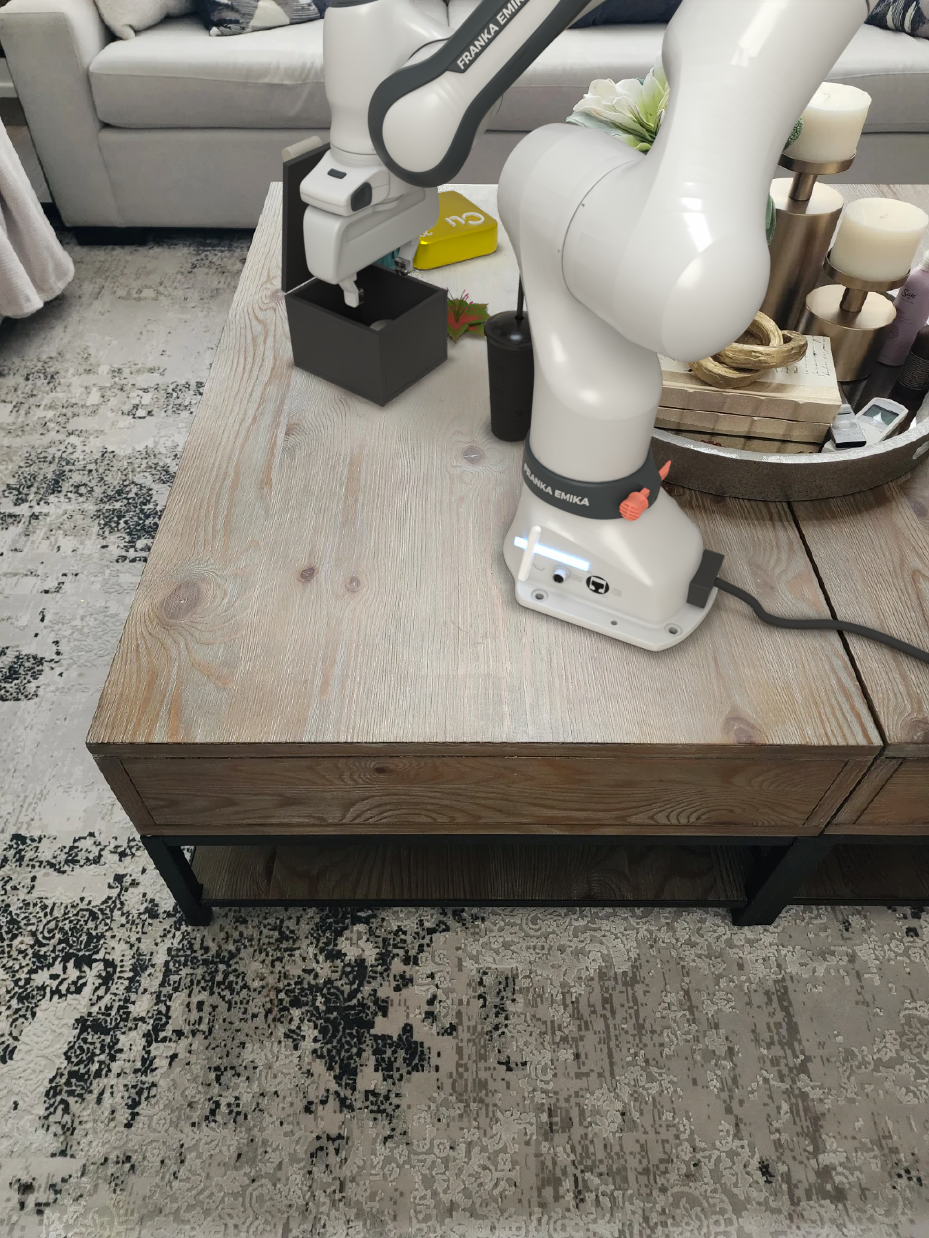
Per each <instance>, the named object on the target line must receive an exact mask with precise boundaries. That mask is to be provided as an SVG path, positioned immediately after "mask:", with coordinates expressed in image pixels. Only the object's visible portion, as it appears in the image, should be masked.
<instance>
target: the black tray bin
mask: <svg viewBox="0 0 929 1238" xmlns="http://www.w3.org/2000/svg"><path fill="white" fill-rule="evenodd" d="M356 275H357V279H356V280H355V281H353V282H354V284H355V285H356V287H357V288H361V289H363V292H364V295H363V298H364V302H363V303H361V304H360V305H358V306H356V307H352V306H350V305H347V304H346V302H345V297H344V290H343V289H342V288H341V286H340V285H339V283H338V284H331V283H328V282H325V281H323V280H321V279H318V278H314V279H313V280H311V281H309V282H305V283H303V284H301V285H300V286H298V287H296V288H294V289H293V290H291V291H289V292H287V293H285V294H284V295H283V296H284V297H283V298H284V303H285V311H286V318H287V324H288V325H287V326H288V331H289V339H290V345H291V351H292V358H293V366H295V367H297V368H299V369H301V370H304V371H305V372H308V373H310V374H311V375H314V376H315V377H318V378H321V379H323V380H325V381H327V382H329V383H331V384H333V385H335V386H337V387H339V388H342V389H344V390H346V391H348V392H351V393H353V394H355V395H357V396H359V397H361V398H363V399H366V400H367V401H370V402H372V403H374V404H376V405H379V406H380V407H384V406H386V405H388V403H390V402H392V400H394V399H396V397H398V396H400V395H401V394H402V393H404V392H405V391H406V390H408V389H409V388H411V387H412V386H413V385H415V384H417V382H419V381H420V380H421V379H423V378H424V377H425V376H427V375H428V374H429V373H431V372H432V371H434V370H435V369H436V368H438V367H439V366H441V365H442V364H443V363H445V362H446V361H447V360H448V339H449V337H448V335H449V333H448V298H449V291H448V290H447V289H446V288H443V287H441V286H438V285H435V284H433V283H430V282H427V281H425V280H422V279H420V278H418V277H414V276H412V275H409V274H407V275H406V276H402V275H398V274H397V273H396V272H395V269H391V268H389V267H386V266H384V265H381V264H378V263H376V262H373V263H371V264H370V265H368V266H366V267H365V268H363V269H361V270H360V271H358V272H356ZM384 319H392V320H394V321H392V322H391V323H389V324H388V325H386V326H384V327H383V328H381V329H380V330H378V331H377V330H375V329H372V328H370V326H371V325H372V324H373V323H374V322H376V321H379V320H384Z"/></svg>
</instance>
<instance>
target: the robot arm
mask: <svg viewBox="0 0 929 1238" xmlns="http://www.w3.org/2000/svg"><path fill="white" fill-rule="evenodd" d="M605 1H606V0H481V1H480V3H479V4H478V5H477V6H476V7H475V9H474V10H473V11H472V12H470V14H469V16H468V17H467V18H465V20H464V21H463V22H462V24H461V25H460V26H459V27H458V28H457V29H456V28H454V27H452V26H448V25H446V24H445V23H443V22H440V21H439V20H436V19H435V18H433V17H431V16H430V15H429V14H427V13H426V12H424V11H422V10H421V9H420V8H418V7H417V6H416V5H415V4H414V3H413V2H412V1H411V0H332V2H330V3H329V5H328V6H327V8H326V9H325V12H324V17H323V27H322V28H323V29H322V61H323V62H322V63H323V78H324V90H325V91H324V92H325V96H326V100H327V103H328V106H329V109H330V116H331V122H330V123H331V124H330V129H329V142H330V147H331V149H330V150H328V151H327V152H326V154H325V155H324V157H323V158H322V159H321V161H320V162H319V163H318V164H317V166H316V167H315V168H314V169H313V170H312V171H311V172H310V173H309V174H308V175H307V176H306V177H305V178H304V180H303V181H302V182H301V184H300V195H301V199H302V200H303V201H304V202H306V203H308V204H310V205H309V206H308V207H307V209H306V211H305V215H304V221H303V230H304V243H305V253H306V260H307V265H308V269H309V271H310V272H311V273H312V274H313V275H314V276H315V277H316V278H318V279H321V280H323V281H325V282H328V283H331V284H338V283H339V285H340V286H341V288H342V289H343V290H344V297H345V302H346V304H347V305H350V306H352V307H356V306H358V305H360V304H361V303H363V302H364V298H363V295H364V292H363V289H361V288H357V287H356V285H355V284H354V282H353V281H355V280H356V279H357V275H356V272H358V271H360V270H361V269H363V268H365V267H366V266H368V265H370V264H371V263H373V262H375V261H377V260H378V259H380V258H382V257H383V256H385V255H387V254H388V253H390V252H392V251H394V250H395V249H397V248H399V247H400V250H399V255H398V257H397V258H396V259H394V264H395V269H394V270H395V272H396V273H397V274H398V275H402V276H406V275H409V274H412V272H413V271H414V267H413V258H414V255H415V252H416V250H417V247H418V244H419V235H421V234H422V233H424V232H426V231H427V230H429V229H431V228H433V227H434V226H435V225H436V223H437V220H438V217H439V196H438V193H439V188H438V187H440V186H443V185H445V184H447V183H449V182H450V181H452V180H453V179H454V178H455V177H457V175H458V174H459V173H460V172H461V170H462V168H463V167H464V165H465V163H466V161H467V160H468V158H469V156H470V153H471V152H472V151H473V149H474V147H475V146H476V145H477V144H478V142H479V141H480V139H481V138H482V136H483V135H484V134H485V132H486V131H487V130H488V128H489V127H490V125H491V124H492V122H493V121H494V119H495V118H496V116H497V114H498V113H499V111H500V109H501V106H502V103H503V100H504V94H505V93H506V92H507V91H508V90H509V89H510V88H511V87H512V85H513V84H515V82H516V81H517V80H518V79H519V78H520V77H521V76H522V75H523V73H525V72H526V71H527V70H528V69H529V67H530V66H531V65H532V64H533V63H534V62H535V61H536V60H537V59H538V58H539V57H540V56H541V55H542V54H543V53H544V52H545V50H546V49H547V48H549V46H550V45H551V44H552V43H553V42H554V41H555V40H556V39H557V38H558V37H559V36H560V35H561V34H563V33H564V32H565V31H566V30H568V29H569V28H570V27H571V26H572V25H573V24H575V23H576V22H578V20H580V19H581V18H583V17H584V16H585V15H587V14H588V13H590V12H591V11H592V10H594V9H595V8H596V7H598V6H600V5H601V4H602V3H603V2H605ZM879 1H880V0H681V3H680V4H679V6H678V7H677V9H676V11H675V12H674V14H673V15H672V17H671V19H670V20H669V22H668V24H667V26H666V29H665V31H664V35H663V38H662V44H661V63H662V69H663V72H664V76H665V80H666V82H667V85H668V87H669V88H668V89H669V91H668V98H667V104H666V106H665V111H664V115H663V118H662V121H661V125H660V127H659V129H658V131H657V134H656V136H655V138H654V141H653V143H652V145H651V146H650V148H649V150H648V151H647V153H646V154H645V153H644V152H642V151H640V150H638V149H636V148H635V147H632V146H631V145H630V144H628V143H626V142H624V141H623V140H621V139H619V138H617V137H616V136H614V135H612V134H611V133H609V132H607V131H604V130H601V129H597V128H592V127H588V126H582V125H577V124H570V123H563V122H553V123H548V124H544V125H542V126H539V127H537V128H535V129H533V130H532V131H530V132H529V133H528V134H526V135H525V136H524V137H523V138H522V139H521V140H520V141H519V142H518V143H517V144H516V146H515V147H514V148H513V150H512V151H511V152H510V154H509V156H508V157H507V159H506V161H505V163H504V165H503V167H502V170H501V173H500V176H499V179H498V184H497V189H496V206H497V207H496V209H497V213H498V216H499V219H500V222H501V224H502V226H503V229H504V231H505V233H506V235H507V238H508V240H509V242H510V245H511V247H512V250H513V253H514V256H515V260H516V263H517V267H518V271H519V273H520V276H521V281H522V287H523V292H524V303H525V309H526V311H527V314H528V320H529V325H530V332H531V338H532V346H533V354H534V390H533V404H532V417H531V428H530V429H529V431H528V432H527V435H526V438H525V439H524V445H523V453H522V462H521V475H522V479H523V483H522V488H521V493H520V497H519V501H518V505H517V509H516V512H515V514H514V518H513V520H512V522H511V525H510V527H509V529H508V531H507V532H506V535H505V537H504V540H503V547H502V553H503V559H504V561H505V564H506V566H507V568H508V570H509V572H510V574H511V575H512V577H513V580H514V597H515V600H516V602H517V603H518V605H520V606H522V607H525V608H527V609H530V610H533V611H536V612H539V613H542V614H545V615H548V616H550V617H552V618H556V619H558V620H562V621H564V622H568V623H570V624H573V625H576V626H578V627H582V628H584V629H587V630H590V631H593V632H595V633H599V634H601V635H604V636H607V637H610V638H613V639H616V640H619V641H621V642H623V643H627V644H630V645H633V646H635V647H637V648H642V649H643V650H647V651H651V652H660V651H664V650H668V649H670V648H671V647H674V646H676V645H678V644H680V643H681V642H682V641H684V640H685V639H687V638H688V637H689V636H690V635H691V634H692V633H694V631H695V630H696V629H697V628H698V627H699V626H700V625H701V623H703V621H704V620H705V618H706V617H707V616H708V614H709V612H710V611H711V609H712V606H713V605H714V603H715V601H716V597H717V595H718V590H721V591H723V592H725V593H727V594H729V595H731V596H733V597H735V598H737V599H739V600H740V601H742V602H744V603H745V604H746V605H748V606H749V607H750V608H751V609H752V611H753V613H754V614H755V615H756V617H757V618H758V619H759V620H760V621H761V622H763V623H766V624H768V625H770V626H773V627H777V628H782V629H787V630H789V629H790V630H834V631H836V630H837V631H842V632H845V633H846V632H847V633H850V634H855V635H858V636H860V637H863V638H867V639H870V640H872V641H876V642H878V643H880V644H883V645H885V646H888V647H890V648H892V649H894V650H897V651H899V652H901V653H903V654H906V655H908V656H909V657H912V658H914V659H915V660H918V661H921V662H923V663H924V664H925V663H926V664H927V665H929V652H927V651H925V650H923V649H921V648H918V647H916V646H913V645H912V644H910V643H908V642H905V641H903V640H901V639H899V638H896V637H894V636H891V635H889V634H887V633H884V632H881V631H880V630H877V629H875V628H874V629H873V628H870V627H867V626H865V625H861V624H857V623H855V622H854V623H853V622H849V621H845V620H839V619H826V618H824V619H823V618H816V619H815V618H814V619H811V618H810V619H809V618H808V619H792V618H791V619H790V618H784V617H780V616H776V615H773V614H771V613H769V612H768V611H766V610H765V608H764V607H763V605H762V603H760V601H759V600H758V599H757V598H756V597H754V596H753V595H752V594H751V593H749V592H747V591H746V590H745V589H743V588H741V587H739V586H736V585H735V584H732V583H730V582H728V581H726V580H724V579H722V578H720V571H721V568H722V565H723V563H724V560H725V557H726V555H725V554H722V553H720V552H716V551H714V550H710V549H707V548H705V549H704V541H703V536H702V533H701V530H700V529H699V527H698V526H697V524H695V523H694V521H693V520H692V519H691V518H690V517H689V516H688V515H687V514H686V513H685V512H684V511H683V510H682V508H681V507H680V506H679V505H678V502H677V501H676V499H675V498H673V497H672V496H671V495H669V493H668V492H667V491H666V490H665V489H664V487H663V486H662V481H664V479H665V478H666V477H667V476H668V474H669V472H670V467H671V463H672V461H671V460H668V461H667V462H666V463H665V464H664V465H663V466H662V467H661V469H658V468H657V465H656V462H655V458H654V453H653V449H652V446H651V441H652V438H653V437H652V436H653V431H654V428H655V423H656V419H657V415H658V410H659V406H660V402H661V397H662V393H663V385H664V381H663V377H664V376H663V370H662V364H661V362H660V358H659V356H658V355H660V356H663V357H666V358H669V359H671V360H673V361H677V362H680V363H696V362H700V361H702V360H705V359H708V358H710V357H712V356H716V354H718V353H721V352H722V351H723V350H726V348H728V347H729V346H731V345H732V344H733V343H735V341H737V340H738V339H739V338H740V337H741V336H742V335H743V334H744V333H745V331H746V330H747V329H748V328H749V327H750V325H751V324H752V322H753V321H754V320H755V318H756V317H757V315H758V313H759V311H760V309H761V307H762V305H763V302H764V301H765V298H766V294H767V291H768V287H769V284H770V283H769V282H770V277H771V253H770V250H769V244H768V239H767V229H766V227H767V226H766V222H767V208H768V201H769V196H770V192H771V187H772V182H773V179H774V176H775V172H776V169H777V166H778V164H779V161H780V159H781V156H782V154H783V151H784V149H785V146H786V144H787V141H788V140H789V137H790V136H791V133H792V132H793V130H794V128H795V126H796V124H797V123H798V121H799V119H800V117H801V116H802V115H803V113H804V111H805V110H806V108H807V106H808V105H809V103H810V102H811V100H812V99H813V97H814V96H815V95H816V93H817V91H818V90H819V89H820V87H821V85H822V84H823V82H824V81H825V79H826V78H827V77H828V75H829V74H830V72H831V70H832V69H833V67H834V66H835V64H836V63H837V62H838V60H839V59H840V57H841V56H842V54H843V53H844V51H845V50H846V49H847V47H848V45H850V43H851V41H852V40H853V39H854V37H855V36H856V34H857V33H858V31H859V30H860V28H861V27H862V26H863V24H864V23H865V21H866V20H867V19H868V17H869V16H870V15H871V13H872V12H873V10H874V8H875V7H876V6H877V4H878V3H879Z"/></svg>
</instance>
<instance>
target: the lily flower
mask: <svg viewBox="0 0 929 1238" xmlns="http://www.w3.org/2000/svg"><path fill="white" fill-rule="evenodd" d="M445 289H446V290H448V294H449V295H450V296H451V298H452V299H451V298H450V297H448V335H449V336H450V337H451V338H452V339H453V342H454V343H456V342H457V341H458V339H459V338H460V336H461V335H463V334H464V333H466V334H471V335H472V334H473V335H477V336H483V337H486V336H485V334H484V325H485V324H483V322H486V321H487V320H488V319H489V318H490V317H491V316H492V315H490V314H489V313H488V312H486V310H487V308H488V305H489V303H479V302H474V301H470V302H468V301H467V300H468V299H469V297H470V296H469V295H470V293H469V292H468V293H466V294H465V295H464V293H465V292H466V289H464V290H463V291H462V294H461V296H460V298H458V297H456V298H454V297H453V295H452V293H451V292H450V289H449V288H448V287H445ZM457 290H458V287H457ZM463 295H464V296H463Z"/></svg>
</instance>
